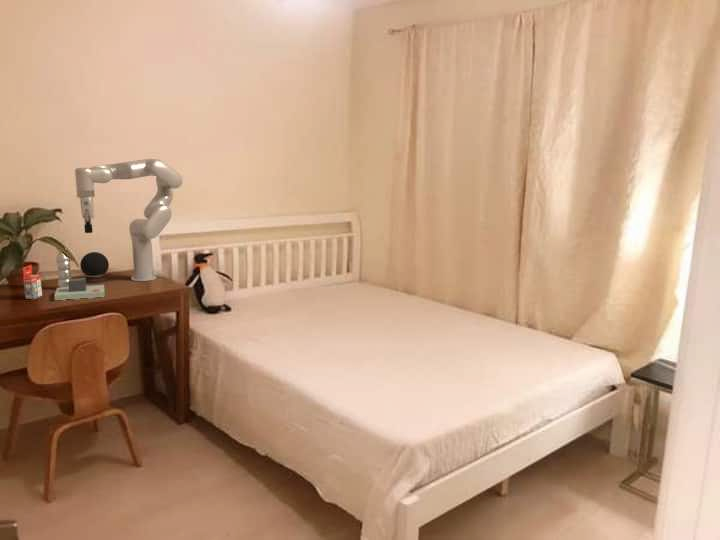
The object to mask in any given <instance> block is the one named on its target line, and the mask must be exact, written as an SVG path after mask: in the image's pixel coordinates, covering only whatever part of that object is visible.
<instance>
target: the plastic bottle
mask: <svg viewBox="0 0 720 540" xmlns="http://www.w3.org/2000/svg"><path fill="white" fill-rule="evenodd" d="M64 248H65V249H66V250H67V247H65V246H64ZM67 251H68V250H67ZM57 252H58V253H57V255H56V257H55V262H56V266H57V272H58V273H57V277H58V280H57V286H58V288H64V287H69V286H68V280H69V279H73V278H72V274H71V259H70V258H71V257H70V258H68V257H66V256H65V255H64V254H63V253H62V252H61V251H60V250H59V249H58V248H57Z"/></svg>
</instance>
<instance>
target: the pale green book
mask: <svg viewBox="0 0 720 540" xmlns="http://www.w3.org/2000/svg"><path fill="white" fill-rule="evenodd" d="M95 297H101V298H105V285H104V284H95V285H86V291H76V292H69V287H64V288H59V287H56V291H55V292H54V297H53V298H54V301H55V300H62V301H67V300H66V299H75V300H81V299H80V298H88V299H96V298H95Z"/></svg>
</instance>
